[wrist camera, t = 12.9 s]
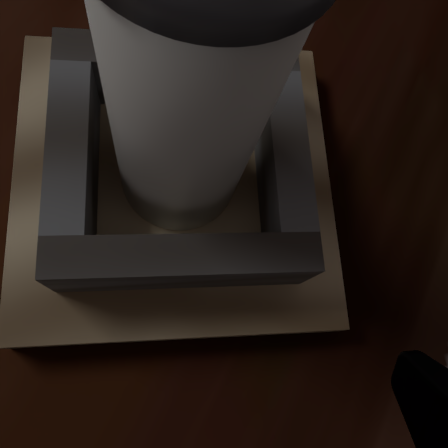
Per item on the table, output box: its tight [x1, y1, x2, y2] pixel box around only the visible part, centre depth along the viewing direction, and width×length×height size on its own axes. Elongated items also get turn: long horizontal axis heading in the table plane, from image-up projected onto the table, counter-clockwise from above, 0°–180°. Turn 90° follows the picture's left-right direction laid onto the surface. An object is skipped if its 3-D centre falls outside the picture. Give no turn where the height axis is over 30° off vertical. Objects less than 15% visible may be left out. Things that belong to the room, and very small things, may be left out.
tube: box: [84, 0, 335, 231], centre depth 13 cm, size 5×5×13 cm
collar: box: [0, 27, 350, 349], centre depth 18 cm, size 14×14×4 cm
